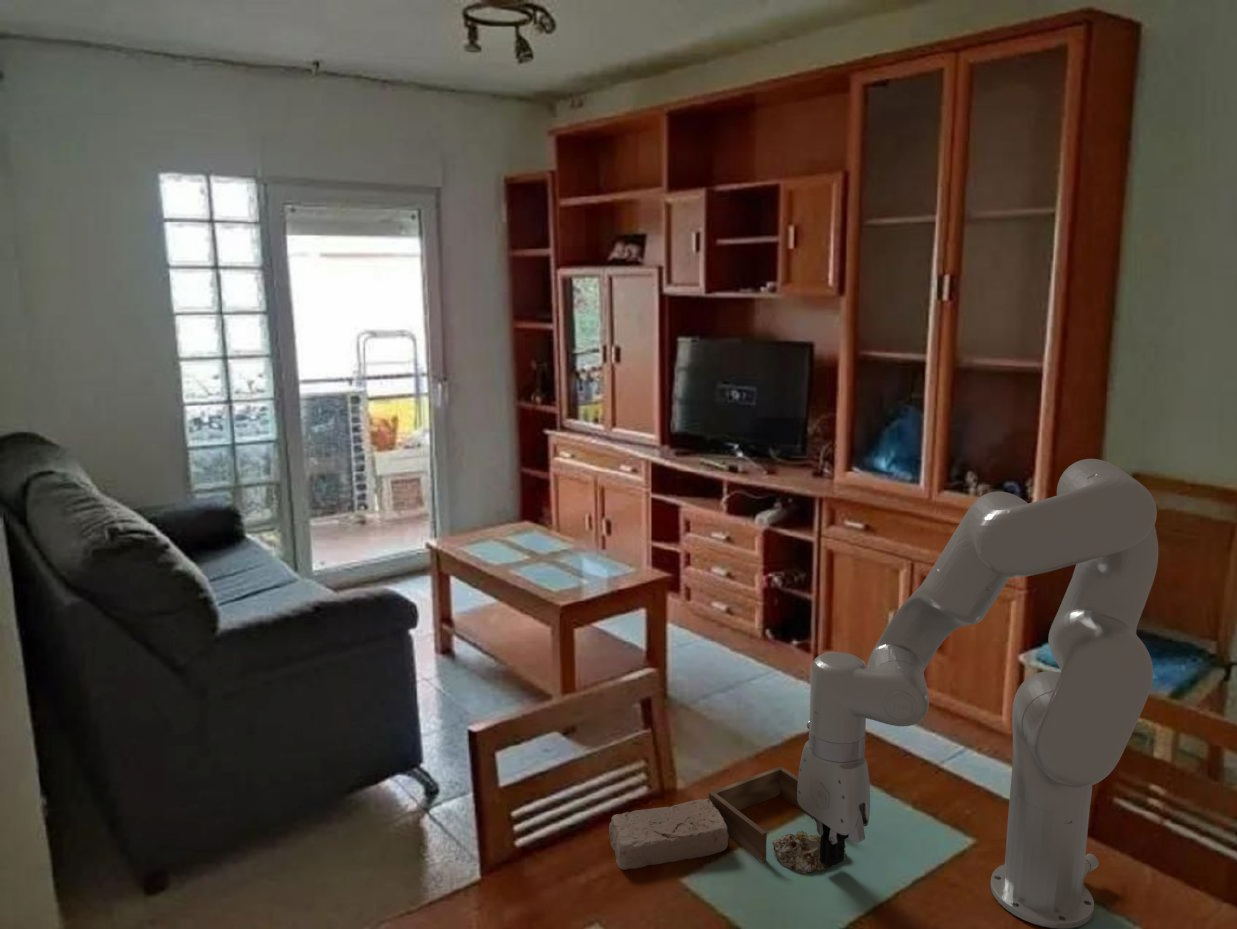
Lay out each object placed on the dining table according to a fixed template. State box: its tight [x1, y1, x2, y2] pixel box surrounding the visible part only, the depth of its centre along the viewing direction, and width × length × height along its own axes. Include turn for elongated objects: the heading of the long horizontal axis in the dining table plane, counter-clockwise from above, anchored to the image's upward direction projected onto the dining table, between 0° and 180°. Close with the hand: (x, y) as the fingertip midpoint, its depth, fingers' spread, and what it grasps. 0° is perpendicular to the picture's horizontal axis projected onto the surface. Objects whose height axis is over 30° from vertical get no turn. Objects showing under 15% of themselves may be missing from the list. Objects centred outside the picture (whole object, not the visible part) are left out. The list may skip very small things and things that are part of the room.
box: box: [708, 765, 814, 863], centre depth 139 cm, size 15×13×4 cm
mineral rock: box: [771, 830, 847, 874], centre depth 131 cm, size 11×4×8 cm
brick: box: [608, 798, 729, 870], centre depth 134 cm, size 17×8×5 cm, turn 104°
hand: (831, 861), depth 128 cm, fingers closed
